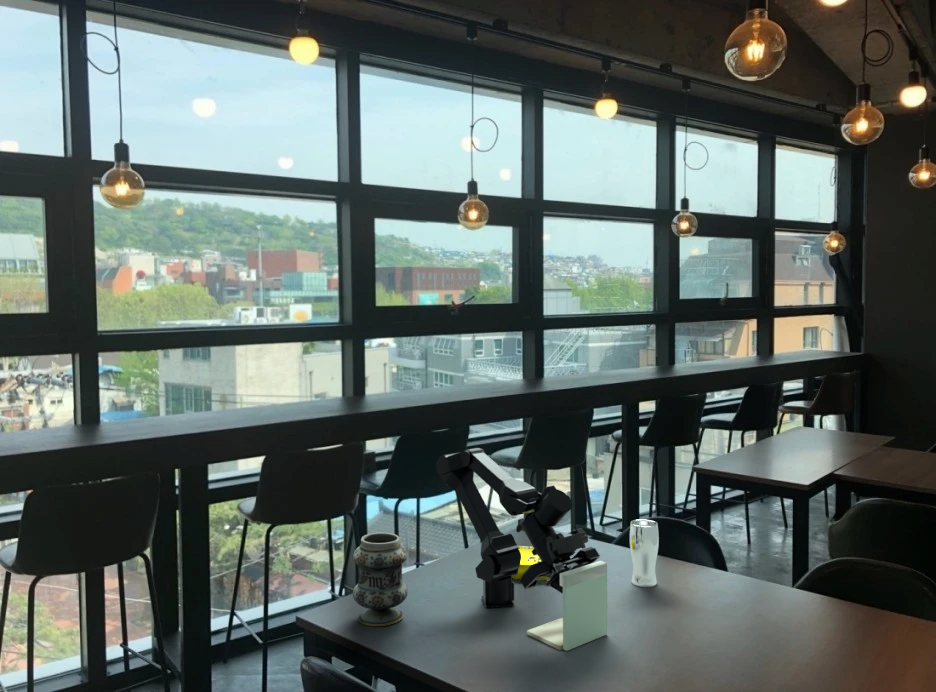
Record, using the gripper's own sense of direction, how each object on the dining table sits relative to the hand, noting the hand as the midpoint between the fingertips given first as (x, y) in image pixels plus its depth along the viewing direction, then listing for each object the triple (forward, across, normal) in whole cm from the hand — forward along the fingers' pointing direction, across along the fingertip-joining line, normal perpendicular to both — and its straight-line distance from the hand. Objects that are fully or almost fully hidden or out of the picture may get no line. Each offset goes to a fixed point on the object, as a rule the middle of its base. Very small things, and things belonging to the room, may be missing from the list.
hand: (582, 604), depth 152 cm
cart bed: (+2, 0, +9) cm, 9 cm away
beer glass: (-4, +36, +15) cm, 39 cm away
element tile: (-21, +21, +33) cm, 44 cm away
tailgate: (+6, 0, +4) cm, 8 cm away
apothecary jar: (-20, -25, +31) cm, 45 cm away
